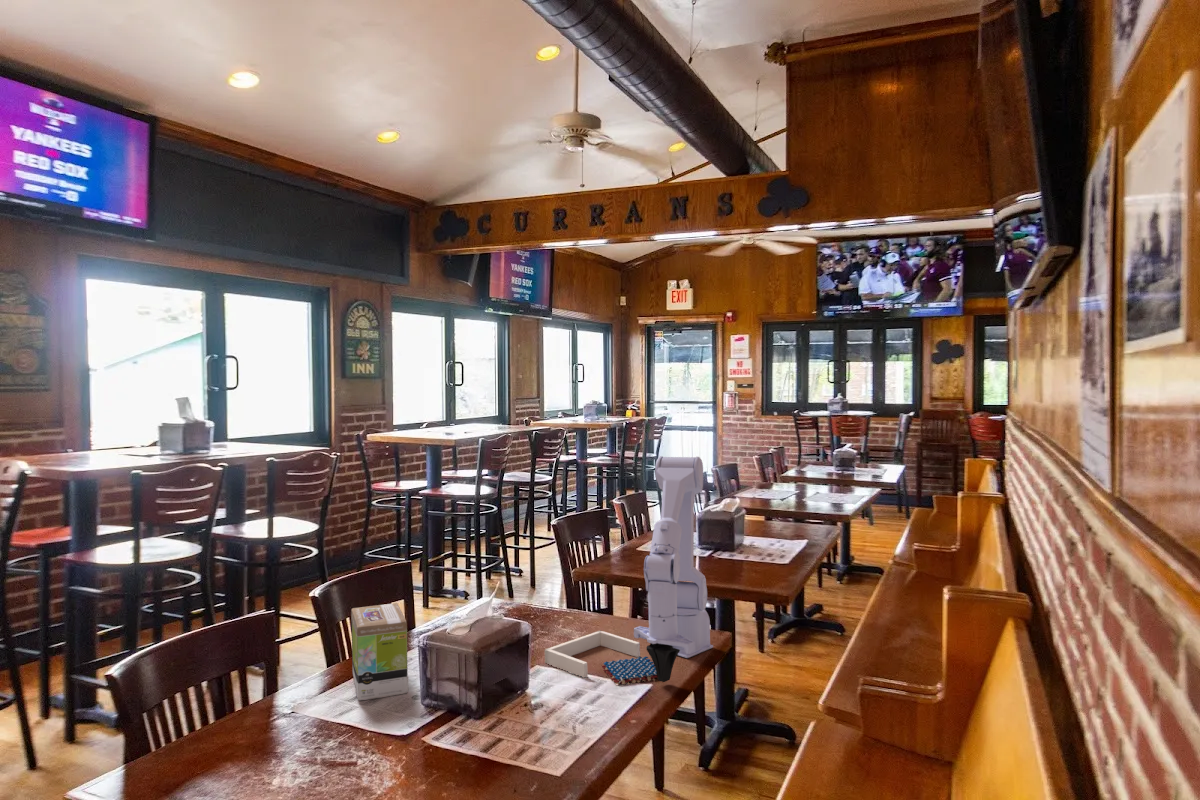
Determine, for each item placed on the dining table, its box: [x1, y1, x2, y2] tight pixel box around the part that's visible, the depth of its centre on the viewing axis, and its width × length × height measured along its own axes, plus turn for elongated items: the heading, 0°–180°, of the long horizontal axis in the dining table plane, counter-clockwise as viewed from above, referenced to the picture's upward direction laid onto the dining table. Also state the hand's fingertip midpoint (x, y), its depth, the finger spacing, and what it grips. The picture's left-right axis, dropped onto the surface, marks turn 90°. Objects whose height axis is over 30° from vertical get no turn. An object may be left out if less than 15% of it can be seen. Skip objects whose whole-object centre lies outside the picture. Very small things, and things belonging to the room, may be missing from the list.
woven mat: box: [601, 656, 658, 685], centre depth 163 cm, size 10×11×2 cm
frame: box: [544, 630, 641, 678], centre depth 171 cm, size 17×12×3 cm
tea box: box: [350, 602, 409, 701], centre depth 160 cm, size 15×10×15 cm, turn 22°
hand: (664, 680), depth 156 cm, fingers closed
